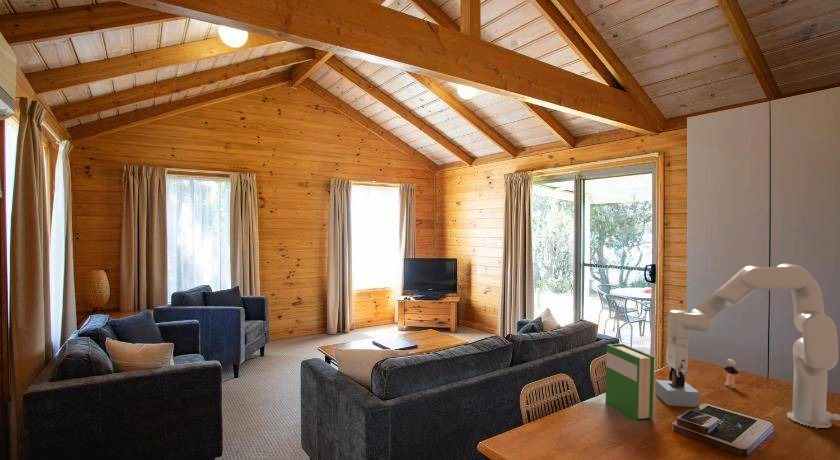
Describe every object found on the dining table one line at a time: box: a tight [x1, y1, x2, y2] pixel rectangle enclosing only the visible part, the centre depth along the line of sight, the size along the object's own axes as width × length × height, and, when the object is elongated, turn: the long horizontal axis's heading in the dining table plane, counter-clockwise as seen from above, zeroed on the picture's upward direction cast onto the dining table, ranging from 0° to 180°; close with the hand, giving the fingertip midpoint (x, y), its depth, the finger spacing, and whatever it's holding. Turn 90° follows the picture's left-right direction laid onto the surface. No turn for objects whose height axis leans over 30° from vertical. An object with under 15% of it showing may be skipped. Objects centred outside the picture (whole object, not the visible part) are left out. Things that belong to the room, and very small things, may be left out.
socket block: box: [654, 379, 700, 408], centre depth 186 cm, size 12×12×6 cm
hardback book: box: [605, 343, 655, 423], centre depth 175 cm, size 18×7×24 cm, turn 13°
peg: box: [672, 370, 682, 388], centre depth 186 cm, size 4×4×12 cm
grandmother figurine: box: [722, 358, 740, 389], centre depth 202 cm, size 8×4×13 cm, turn 25°
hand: (676, 383), depth 186 cm, fingers open, 5 cm apart
